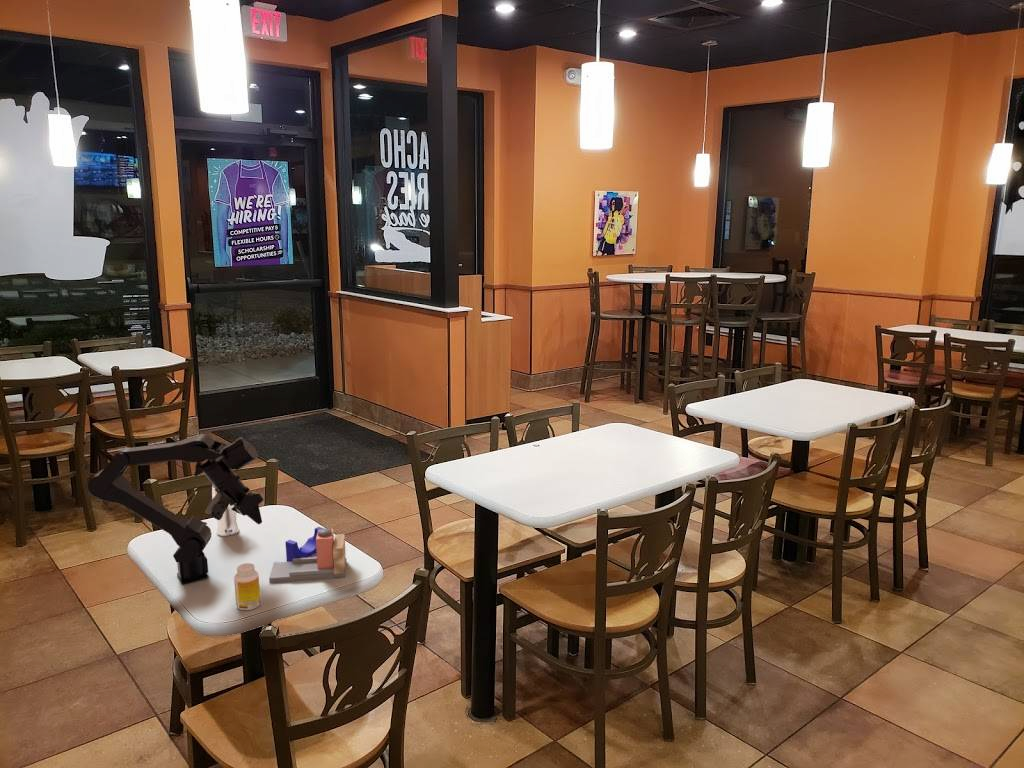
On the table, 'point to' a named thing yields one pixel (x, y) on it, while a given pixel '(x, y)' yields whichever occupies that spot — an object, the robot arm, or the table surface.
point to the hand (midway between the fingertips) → (260, 523)
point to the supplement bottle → (247, 587)
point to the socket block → (339, 553)
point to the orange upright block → (325, 548)
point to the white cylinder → (226, 520)
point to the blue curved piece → (301, 548)
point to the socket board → (301, 570)
